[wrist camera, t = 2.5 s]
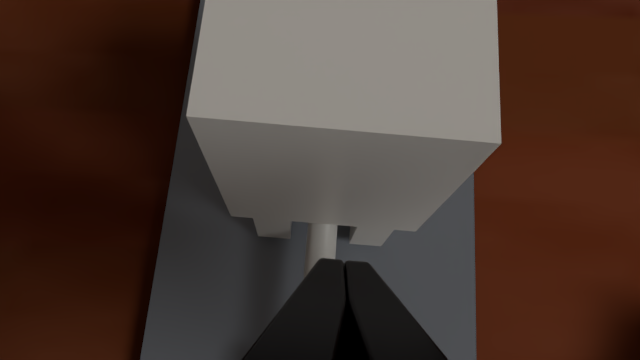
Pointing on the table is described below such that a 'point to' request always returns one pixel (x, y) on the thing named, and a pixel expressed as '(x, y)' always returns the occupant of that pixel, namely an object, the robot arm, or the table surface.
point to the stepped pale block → (345, 108)
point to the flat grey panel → (290, 266)
